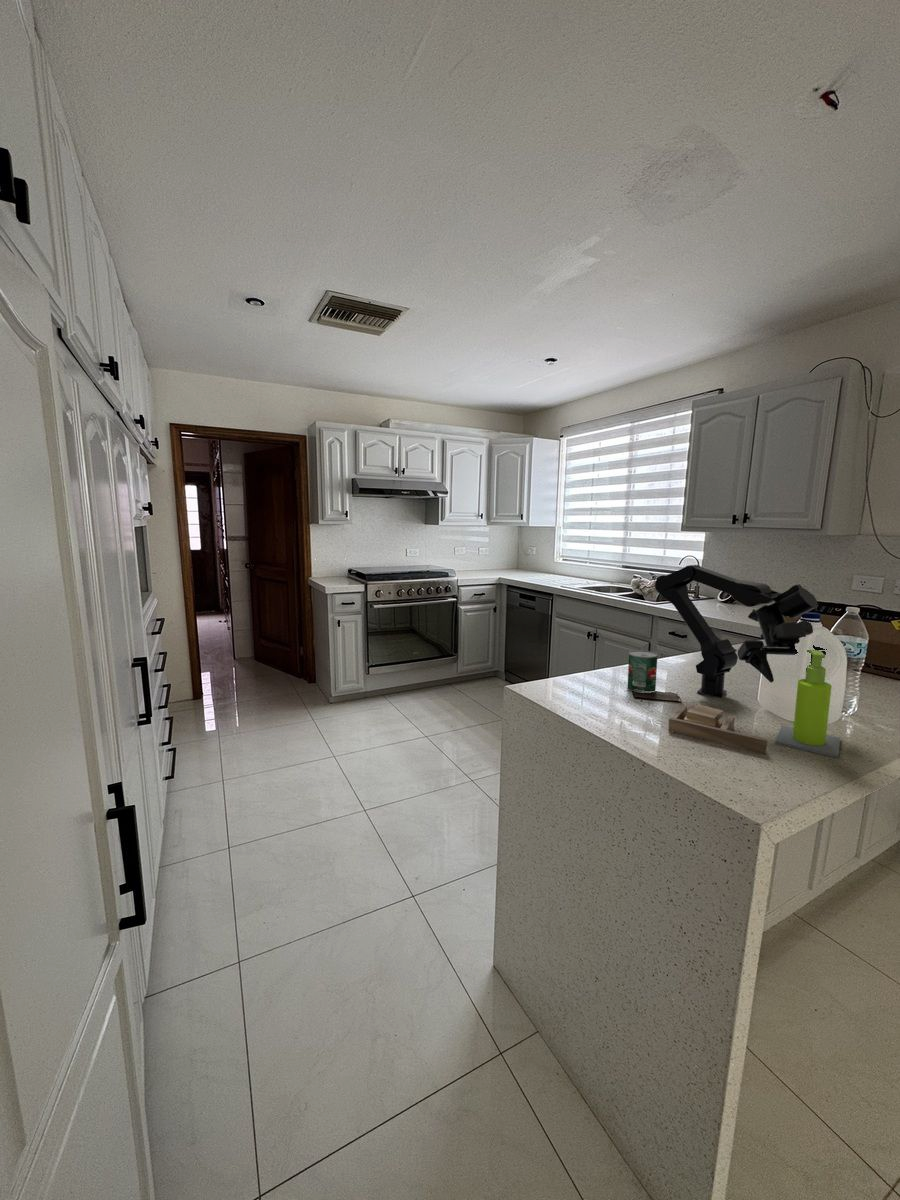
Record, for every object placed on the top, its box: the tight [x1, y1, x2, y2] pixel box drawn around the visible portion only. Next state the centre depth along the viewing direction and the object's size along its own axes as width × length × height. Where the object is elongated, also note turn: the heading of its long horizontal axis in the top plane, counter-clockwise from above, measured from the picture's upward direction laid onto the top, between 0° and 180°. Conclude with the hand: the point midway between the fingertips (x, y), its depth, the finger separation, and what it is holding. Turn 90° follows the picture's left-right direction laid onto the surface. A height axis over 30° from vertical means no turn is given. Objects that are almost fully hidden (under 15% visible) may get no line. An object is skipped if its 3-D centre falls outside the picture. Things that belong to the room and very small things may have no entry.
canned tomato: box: [626, 649, 658, 692], centre depth 144 cm, size 8×8×11 cm
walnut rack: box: [668, 705, 768, 755], centre depth 113 cm, size 11×20×3 cm, turn 50°
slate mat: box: [774, 725, 841, 759], centre depth 109 cm, size 11×11×1 cm
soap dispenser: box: [792, 650, 832, 746], centre depth 108 cm, size 6×7×20 cm
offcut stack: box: [684, 704, 724, 728], centre depth 116 cm, size 8×7×4 cm
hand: (793, 682), depth 115 cm, fingers open, 9 cm apart
